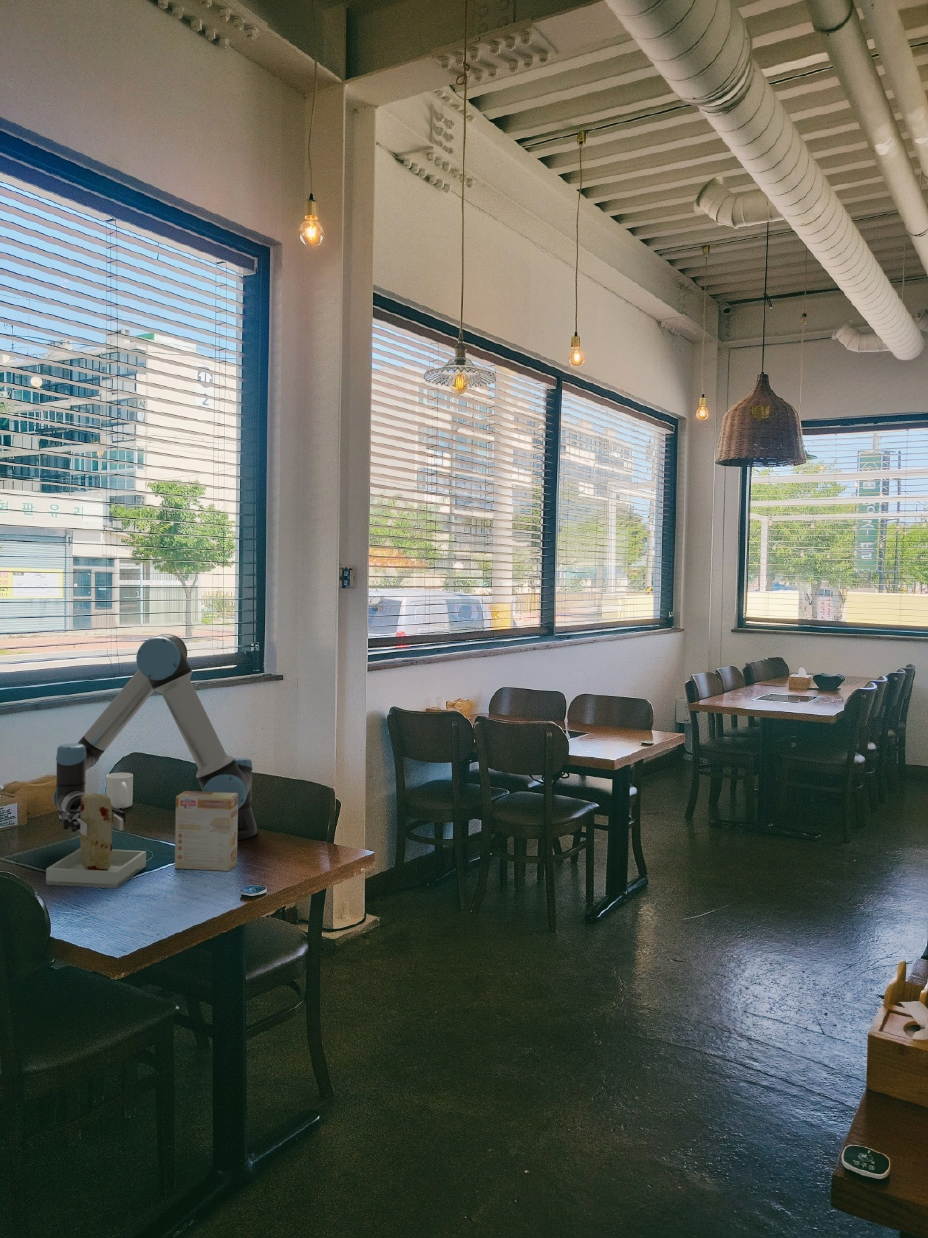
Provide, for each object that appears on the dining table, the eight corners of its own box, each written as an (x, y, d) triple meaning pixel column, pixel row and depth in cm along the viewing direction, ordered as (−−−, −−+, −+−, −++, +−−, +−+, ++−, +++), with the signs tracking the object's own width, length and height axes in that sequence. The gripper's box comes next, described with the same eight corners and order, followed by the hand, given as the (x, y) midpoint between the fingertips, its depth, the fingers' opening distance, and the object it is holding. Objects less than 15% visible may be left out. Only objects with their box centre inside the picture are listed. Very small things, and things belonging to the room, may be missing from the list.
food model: (73, 871, 240) (72, 793, 239) (94, 864, 246) (93, 789, 245) (100, 876, 235) (100, 797, 235) (121, 869, 241) (120, 792, 240)
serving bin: (145, 866, 249) (146, 851, 249) (116, 888, 231) (116, 872, 231) (80, 862, 250) (80, 848, 250) (45, 884, 232) (46, 868, 232)
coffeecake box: (237, 863, 253) (239, 792, 253) (229, 872, 246) (230, 798, 245) (183, 861, 254) (184, 790, 253) (173, 869, 247) (175, 796, 246)
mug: (138, 810, 306) (138, 778, 306) (111, 812, 302) (112, 781, 301) (128, 802, 316) (129, 771, 316) (103, 804, 312) (103, 774, 311)
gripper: (119, 816, 261) (145, 836, 242) (38, 826, 248) (59, 848, 230) (119, 790, 260) (145, 807, 242) (38, 798, 248) (59, 818, 229)
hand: (103, 827), depth 236 cm, fingers open, 8 cm apart
